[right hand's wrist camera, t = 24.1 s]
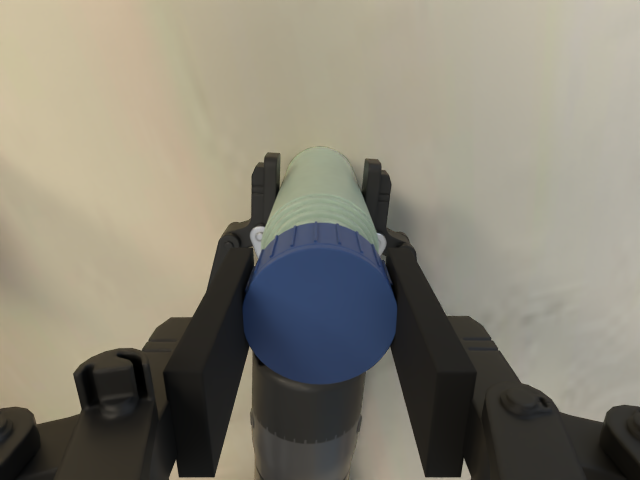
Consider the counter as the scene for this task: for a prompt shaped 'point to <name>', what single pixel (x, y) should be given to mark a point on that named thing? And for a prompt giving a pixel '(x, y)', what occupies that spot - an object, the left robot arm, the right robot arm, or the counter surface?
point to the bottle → (319, 196)
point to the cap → (319, 304)
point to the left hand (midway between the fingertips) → (323, 159)
